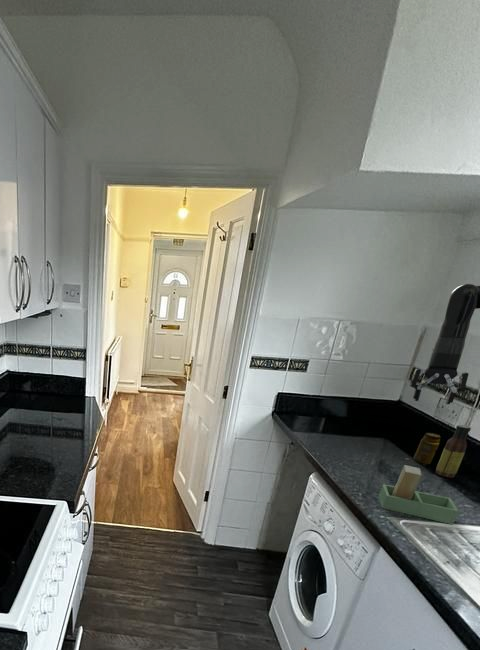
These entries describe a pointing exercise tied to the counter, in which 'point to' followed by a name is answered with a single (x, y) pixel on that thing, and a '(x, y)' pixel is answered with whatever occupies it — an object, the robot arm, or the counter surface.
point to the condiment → (427, 448)
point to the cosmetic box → (407, 482)
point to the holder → (420, 505)
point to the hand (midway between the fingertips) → (431, 402)
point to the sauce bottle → (453, 452)
